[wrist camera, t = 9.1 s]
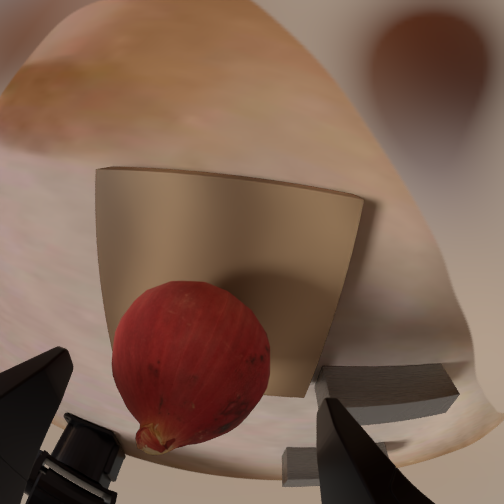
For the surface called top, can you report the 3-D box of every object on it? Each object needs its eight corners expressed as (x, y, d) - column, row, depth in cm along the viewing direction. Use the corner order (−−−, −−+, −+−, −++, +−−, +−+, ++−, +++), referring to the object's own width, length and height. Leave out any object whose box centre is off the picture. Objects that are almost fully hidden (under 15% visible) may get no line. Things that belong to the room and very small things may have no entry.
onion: (293, 279, 12) (308, 446, 5) (245, 365, 14) (226, 501, 7) (169, 230, 12) (48, 345, 4) (145, 326, 14) (74, 444, 6)
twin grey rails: (281, 456, 21) (282, 486, 17) (322, 365, 16) (332, 407, 13) (375, 451, 21) (382, 477, 17) (440, 363, 16) (459, 394, 13)
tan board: (124, 352, 17) (116, 366, 15) (111, 166, 12) (95, 169, 11) (302, 381, 17) (304, 397, 15) (353, 194, 12) (364, 200, 11)
